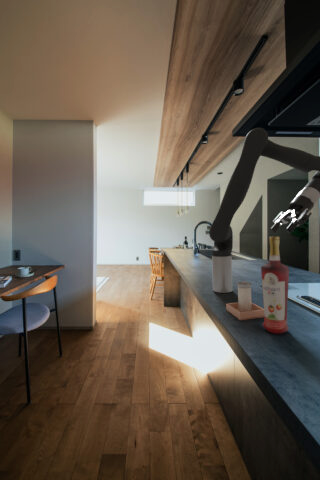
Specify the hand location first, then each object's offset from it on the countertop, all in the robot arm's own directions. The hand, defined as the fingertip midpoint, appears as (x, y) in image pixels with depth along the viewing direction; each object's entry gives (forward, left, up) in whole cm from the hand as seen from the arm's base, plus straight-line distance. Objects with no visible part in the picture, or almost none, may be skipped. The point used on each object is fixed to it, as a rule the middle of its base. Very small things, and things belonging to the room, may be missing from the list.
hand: (279, 231), depth 88 cm
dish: (+5, -19, -29) cm, 35 cm away
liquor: (+19, -18, -29) cm, 39 cm away
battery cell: (+5, -19, -28) cm, 34 cm away
